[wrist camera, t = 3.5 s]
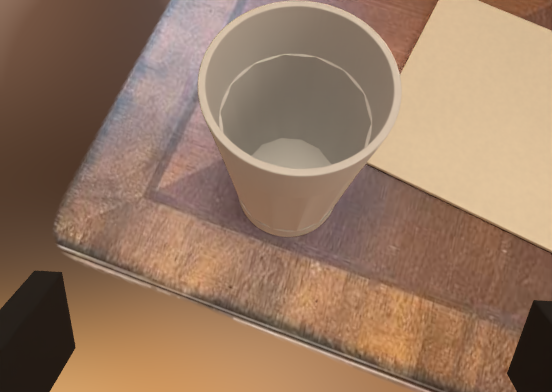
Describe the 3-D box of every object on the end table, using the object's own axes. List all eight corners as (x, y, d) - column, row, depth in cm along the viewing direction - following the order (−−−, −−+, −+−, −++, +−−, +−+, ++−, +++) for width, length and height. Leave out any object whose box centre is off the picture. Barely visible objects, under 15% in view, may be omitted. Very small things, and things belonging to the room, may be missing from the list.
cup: (373, 175, 30) (438, 62, 18) (304, 276, 27) (329, 217, 16) (272, 111, 31) (275, -30, 20) (199, 202, 29) (154, 101, 17)
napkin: (356, 159, 30) (357, 157, 30) (444, -10, 35) (445, -13, 34) (596, 274, 28) (599, 273, 27) (654, 76, 32) (657, 73, 32)
